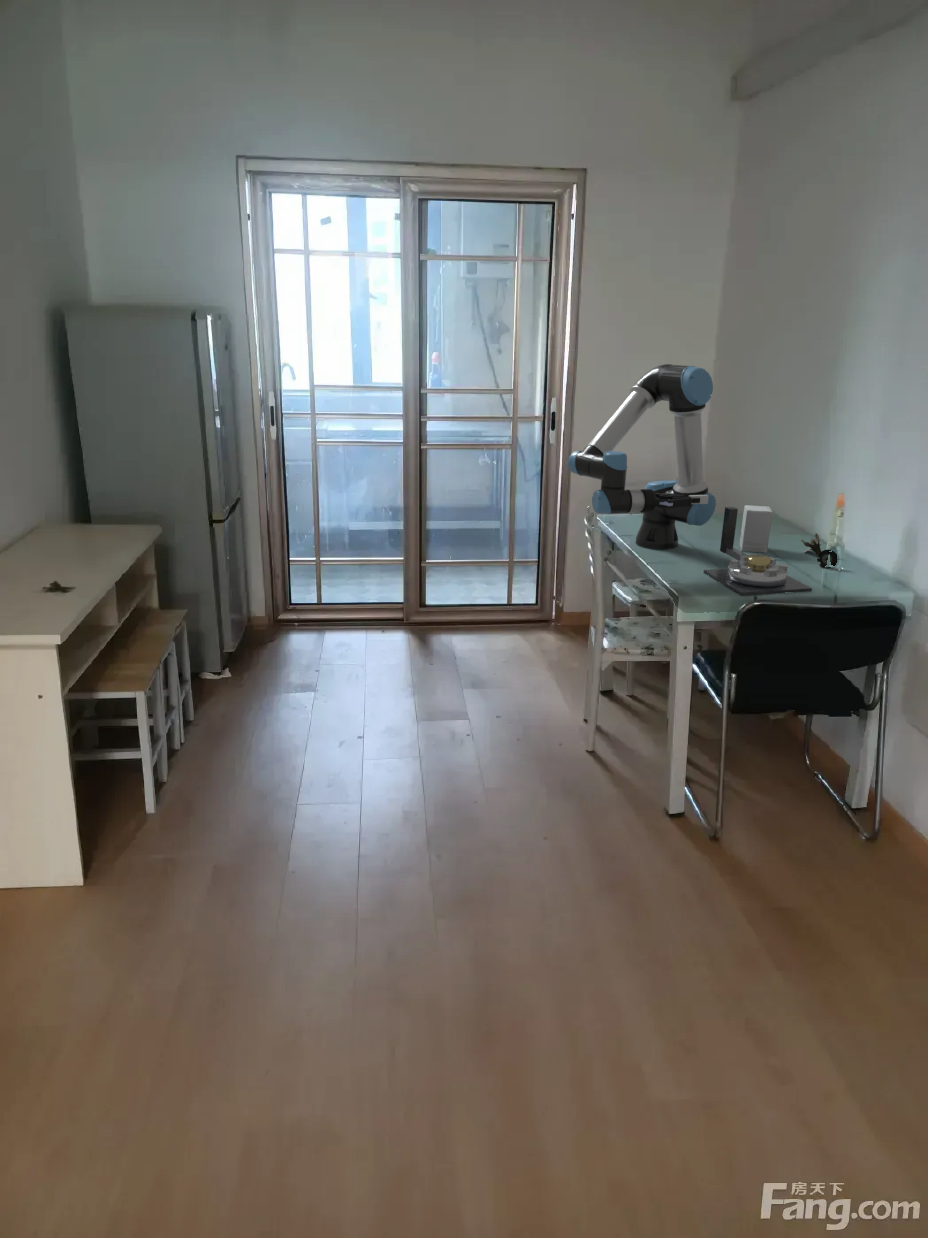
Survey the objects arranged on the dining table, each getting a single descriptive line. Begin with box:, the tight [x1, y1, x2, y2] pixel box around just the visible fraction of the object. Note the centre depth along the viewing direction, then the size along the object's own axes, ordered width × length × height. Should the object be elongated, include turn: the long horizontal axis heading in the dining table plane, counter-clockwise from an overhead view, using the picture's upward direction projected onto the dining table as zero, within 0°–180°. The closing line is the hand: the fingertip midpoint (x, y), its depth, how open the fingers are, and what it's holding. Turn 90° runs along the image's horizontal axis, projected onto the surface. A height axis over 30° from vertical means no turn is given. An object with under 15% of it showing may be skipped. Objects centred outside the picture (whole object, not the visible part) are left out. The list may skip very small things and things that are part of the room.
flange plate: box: [703, 554, 813, 597], centre depth 281 cm, size 24×24×8 cm
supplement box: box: [739, 504, 773, 554], centre depth 317 cm, size 9×9×15 cm
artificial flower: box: [800, 533, 838, 569], centre depth 307 cm, size 9×22×10 cm, turn 168°
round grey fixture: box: [719, 506, 789, 587], centre depth 284 cm, size 30×18×18 cm, turn 13°
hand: (707, 499), depth 290 cm, fingers closed
